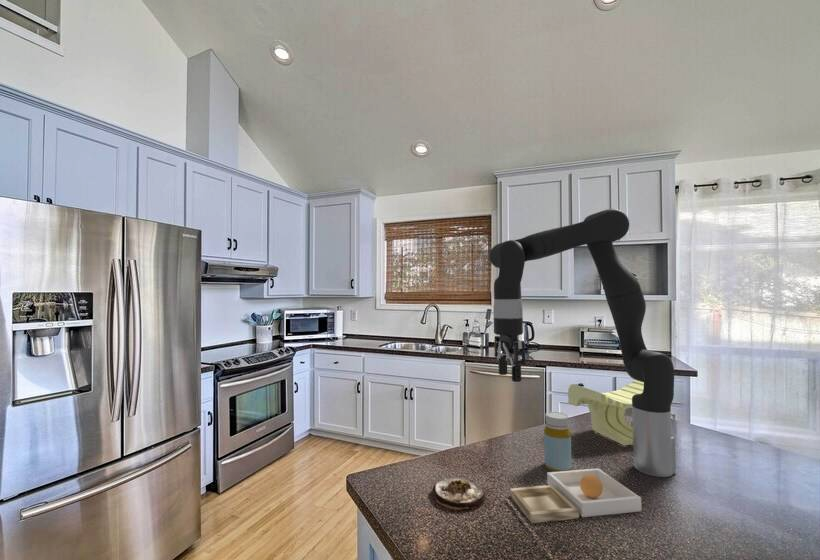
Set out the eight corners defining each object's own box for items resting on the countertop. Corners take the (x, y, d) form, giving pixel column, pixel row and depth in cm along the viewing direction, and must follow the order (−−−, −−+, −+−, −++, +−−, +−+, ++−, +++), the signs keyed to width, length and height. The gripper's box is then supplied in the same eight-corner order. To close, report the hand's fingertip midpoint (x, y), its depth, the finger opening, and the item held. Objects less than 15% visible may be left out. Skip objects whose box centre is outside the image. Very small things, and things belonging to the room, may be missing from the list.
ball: (594, 490, 93) (593, 469, 93) (607, 501, 88) (607, 479, 88) (575, 492, 92) (575, 471, 92) (588, 503, 87) (587, 481, 87)
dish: (598, 481, 98) (598, 468, 98) (641, 513, 84) (641, 497, 84) (547, 486, 96) (547, 472, 96) (582, 519, 81) (582, 503, 82)
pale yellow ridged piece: (636, 424, 142) (634, 377, 143) (675, 439, 127) (673, 387, 128) (568, 431, 135) (567, 382, 136) (602, 449, 119) (600, 392, 120)
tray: (552, 494, 92) (551, 484, 92) (579, 520, 81) (578, 509, 81) (510, 498, 90) (510, 488, 90) (532, 525, 79) (531, 514, 79)
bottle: (573, 475, 102) (572, 419, 102) (546, 473, 103) (545, 418, 104) (568, 464, 108) (567, 412, 109) (543, 462, 110) (542, 410, 110)
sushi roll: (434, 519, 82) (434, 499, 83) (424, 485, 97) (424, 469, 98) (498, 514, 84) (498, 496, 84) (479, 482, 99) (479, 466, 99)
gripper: (534, 317, 93) (535, 383, 92) (510, 314, 107) (511, 371, 106) (505, 318, 91) (507, 384, 91) (485, 315, 105) (486, 373, 105)
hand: (509, 377), depth 98 cm, fingers open, 8 cm apart
